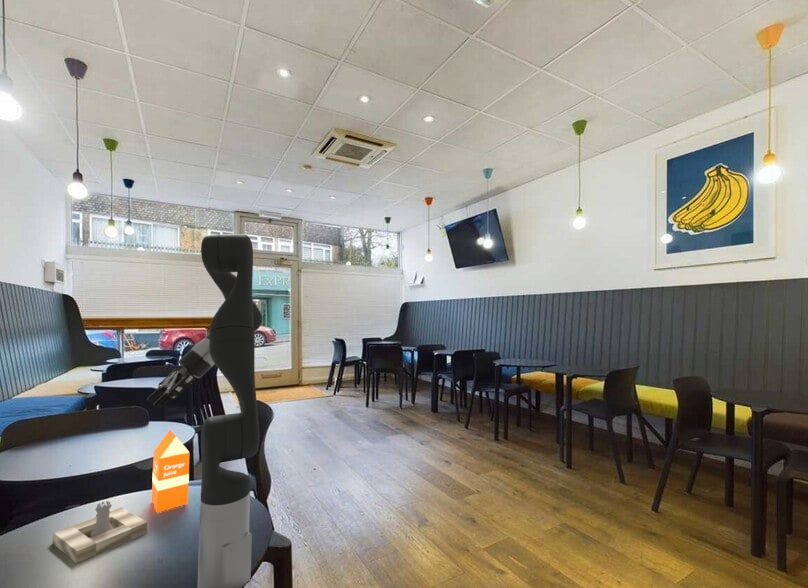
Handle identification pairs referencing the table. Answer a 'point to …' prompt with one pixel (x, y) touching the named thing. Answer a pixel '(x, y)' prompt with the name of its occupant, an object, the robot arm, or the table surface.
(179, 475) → the orange juice
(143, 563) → the table surface
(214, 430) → the robot arm
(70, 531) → the wooden square ring
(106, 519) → the rook chess piece
